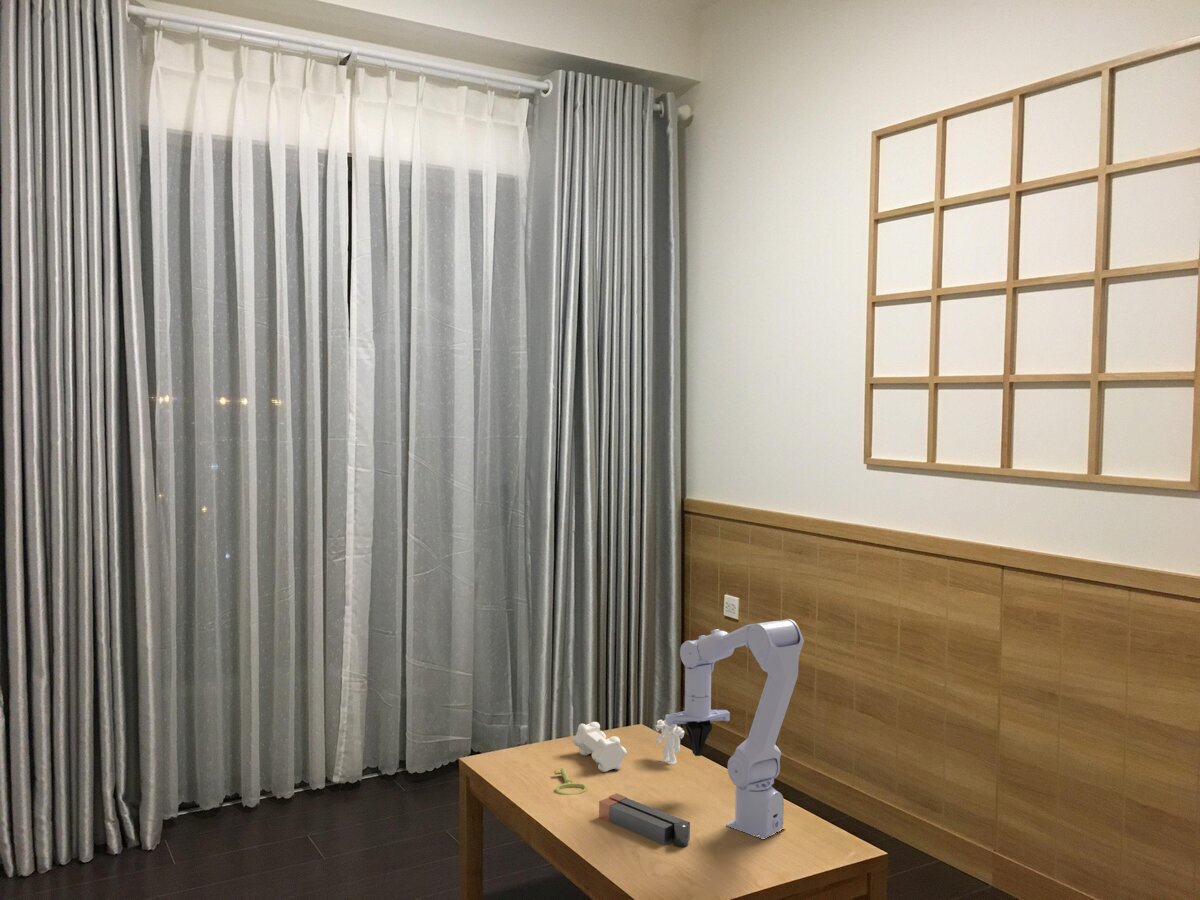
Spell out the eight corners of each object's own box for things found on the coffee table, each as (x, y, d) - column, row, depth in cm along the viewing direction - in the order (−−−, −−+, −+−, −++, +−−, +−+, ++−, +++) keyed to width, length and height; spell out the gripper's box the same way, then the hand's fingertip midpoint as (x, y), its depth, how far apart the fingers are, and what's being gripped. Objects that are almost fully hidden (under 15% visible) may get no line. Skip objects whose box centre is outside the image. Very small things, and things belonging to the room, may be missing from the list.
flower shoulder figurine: (687, 765, 233) (687, 716, 232) (675, 768, 230) (675, 719, 230) (662, 754, 240) (663, 706, 239) (650, 757, 237) (651, 709, 237)
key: (563, 775, 226) (563, 766, 226) (591, 794, 216) (591, 784, 216) (536, 782, 223) (536, 772, 222) (563, 801, 212) (563, 791, 212)
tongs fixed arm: (672, 842, 191) (672, 824, 191) (664, 846, 189) (664, 828, 189) (607, 814, 204) (607, 797, 204) (599, 818, 202) (599, 801, 202)
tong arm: (695, 841, 191) (695, 822, 191) (682, 848, 188) (682, 829, 188) (616, 809, 206) (616, 792, 206) (602, 815, 203) (603, 797, 203)
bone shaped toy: (572, 756, 240) (569, 724, 239) (603, 748, 243) (601, 716, 243) (596, 777, 226) (594, 743, 226) (629, 768, 230) (627, 735, 229)
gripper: (721, 686, 219) (720, 745, 219) (661, 690, 215) (660, 750, 216) (733, 695, 212) (732, 756, 213) (671, 700, 208) (670, 762, 209)
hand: (697, 754), depth 214 cm, fingers closed
